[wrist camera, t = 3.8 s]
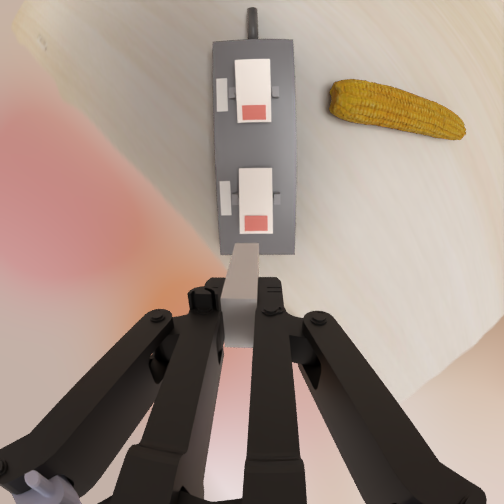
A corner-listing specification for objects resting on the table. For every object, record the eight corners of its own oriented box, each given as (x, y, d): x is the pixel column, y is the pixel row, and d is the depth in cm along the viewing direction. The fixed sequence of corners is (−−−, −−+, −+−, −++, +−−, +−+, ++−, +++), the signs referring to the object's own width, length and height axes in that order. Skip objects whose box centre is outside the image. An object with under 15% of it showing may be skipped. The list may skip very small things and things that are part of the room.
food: (325, 122, 30) (338, 118, 25) (325, 81, 28) (337, 70, 23) (453, 144, 30) (478, 148, 24) (453, 109, 27) (477, 108, 22)
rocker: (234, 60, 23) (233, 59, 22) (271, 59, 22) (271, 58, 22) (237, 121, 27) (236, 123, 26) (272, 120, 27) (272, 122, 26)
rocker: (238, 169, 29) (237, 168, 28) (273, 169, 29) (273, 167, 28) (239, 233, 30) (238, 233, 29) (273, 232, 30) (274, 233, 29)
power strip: (218, 16, 25) (211, 0, 20) (287, 14, 24) (290, -3, 20) (224, 243, 37) (219, 258, 32) (291, 242, 37) (295, 257, 32)
